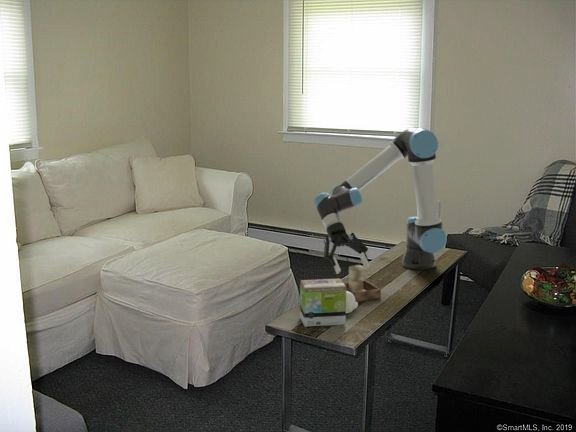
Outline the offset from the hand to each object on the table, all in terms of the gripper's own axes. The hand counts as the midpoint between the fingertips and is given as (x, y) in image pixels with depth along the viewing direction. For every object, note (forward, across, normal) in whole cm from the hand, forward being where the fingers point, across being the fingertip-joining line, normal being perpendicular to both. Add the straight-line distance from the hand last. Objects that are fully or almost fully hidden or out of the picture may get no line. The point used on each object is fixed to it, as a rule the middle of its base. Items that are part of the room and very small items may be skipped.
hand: (353, 270), depth 266 cm
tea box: (+22, +27, +8) cm, 36 cm away
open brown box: (+10, 0, -4) cm, 11 cm away
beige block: (+9, 0, -4) cm, 10 cm away
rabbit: (+18, +16, +4) cm, 24 cm away
